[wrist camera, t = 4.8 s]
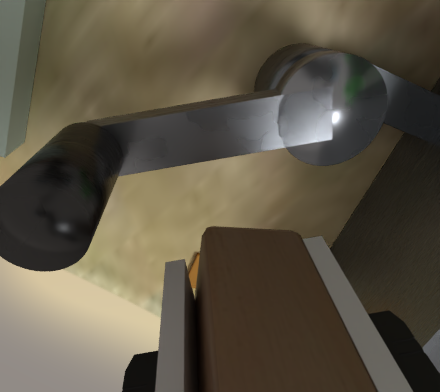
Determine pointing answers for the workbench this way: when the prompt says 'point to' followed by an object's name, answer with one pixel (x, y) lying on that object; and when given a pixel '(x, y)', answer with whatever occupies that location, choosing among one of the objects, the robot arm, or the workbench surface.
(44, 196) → the crank
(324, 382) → the wooden block
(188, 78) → the workbench surface
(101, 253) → the workbench surface
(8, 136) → the tray
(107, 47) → the workbench surface
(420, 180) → the stand
